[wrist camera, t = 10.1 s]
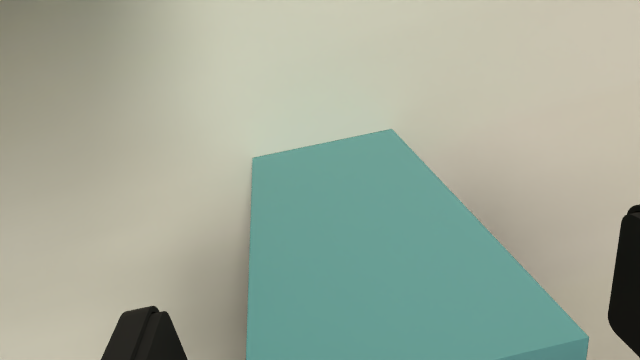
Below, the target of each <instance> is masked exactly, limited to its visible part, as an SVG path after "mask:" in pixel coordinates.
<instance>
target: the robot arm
mask: <svg viewBox="0 0 640 360" xmlns="http://www.w3.org/2000/svg"><path fill="white" fill-rule="evenodd" d="M608 320H609V323H610V326H611V328H612V329H613V331H614V332H615V333H616V334H617V335H618V336H619V337H620V338H621V339H622V340H623V341H624V342H625V343H626V344H627V345H628V346H629V347H630V348H631V349H632V350H633V351H634V352H635V353H636V354H637V355H638V356H639V357H640V205H635V206H633V207H631V208H630V209H629V211H628V213H627V215H625V216H624V217H623V219H622V222H621V229H620V235H619V242H618V249H617V256H616V263H615V270H614V277H613V283H612V290H611V297H610V304H609V311H608ZM101 360H187V357H186V355H185V352H184V350H183V347H182V345H181V343H180V340H179V338H178V335H177V333H176V331H175V328H174V326H173V323H172V321H171V318H170V316H169V314H168V313H167V312H166V311H163V312H159V310H158V308H156V307H155V306H150V307H145V308H140V309H136V310H131V311H126V312H124V313H123V314H122V315H121V317H120V319H119V321H118V323H117V325H116V328H115V330H114V332H113V334H112V336H111V339H110V341H109V343H108V345H107V347H106V350H105V352H104V354H103V356H102V358H101Z"/></svg>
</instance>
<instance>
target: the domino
mask: <svg viewBox="0 0 640 360" xmlns="http://www.w3.org/2000/svg"><path fill="white" fill-rule="evenodd" d="M588 342H589V337H588V336H587V335H586V334H585V332H584V331H583V330H582V329H581V328H580V327H579V326H578V325H577V324H576V323H575V322H574V321H573V320H572V319H571V318H570V317H569V316H568V314H567V313H566V312H565V311H564V310H563V309H562V308H561V307H560V306H559V305H558V304H557V303H556V302H555V301H554V300H553V299H552V298H551V297H550V295H549V294H548V293H547V292H546V291H545V290H544V289H543V288H542V287H541V286H540V285H539V284H538V283H537V282H536V281H535V280H534V279H533V278H532V276H531V275H530V274H529V273H528V272H527V271H526V270H525V269H524V268H523V267H522V266H521V265H520V264H519V263H518V262H517V261H516V260H515V259H514V257H513V256H512V255H511V254H510V253H509V252H508V251H507V250H506V249H505V248H504V247H503V246H502V245H501V244H500V243H499V242H498V241H497V240H496V238H495V237H494V236H493V235H492V234H491V233H490V232H489V231H488V230H487V229H486V228H485V227H484V226H483V225H482V224H481V223H480V222H479V221H478V219H477V218H476V217H475V216H474V215H473V214H472V213H471V212H470V211H469V210H468V209H467V208H466V207H465V206H464V205H463V204H462V203H461V201H460V200H459V199H458V198H457V197H456V196H455V195H454V194H453V193H452V192H451V191H450V190H449V189H448V188H447V187H446V186H445V185H444V184H443V182H442V181H441V180H440V179H439V178H438V177H437V176H436V175H435V174H434V173H433V172H432V171H431V170H430V169H429V168H428V167H427V166H426V165H425V163H424V162H423V161H422V160H421V159H420V158H419V157H418V156H417V155H416V154H415V153H414V152H413V151H412V150H411V149H410V148H409V147H408V146H407V144H406V143H405V142H404V141H403V140H402V139H401V138H400V137H399V136H398V135H397V134H396V133H395V132H394V131H393V130H392V129H389V130H385V131H380V132H375V133H370V134H365V135H361V136H356V137H351V138H346V139H341V140H337V141H332V142H327V143H322V144H317V145H312V146H308V147H303V148H298V149H293V150H288V151H284V152H279V153H274V154H269V155H264V156H260V157H255V158H253V164H252V194H251V225H250V255H249V285H248V315H247V345H246V360H586V357H587V349H588Z"/></svg>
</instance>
